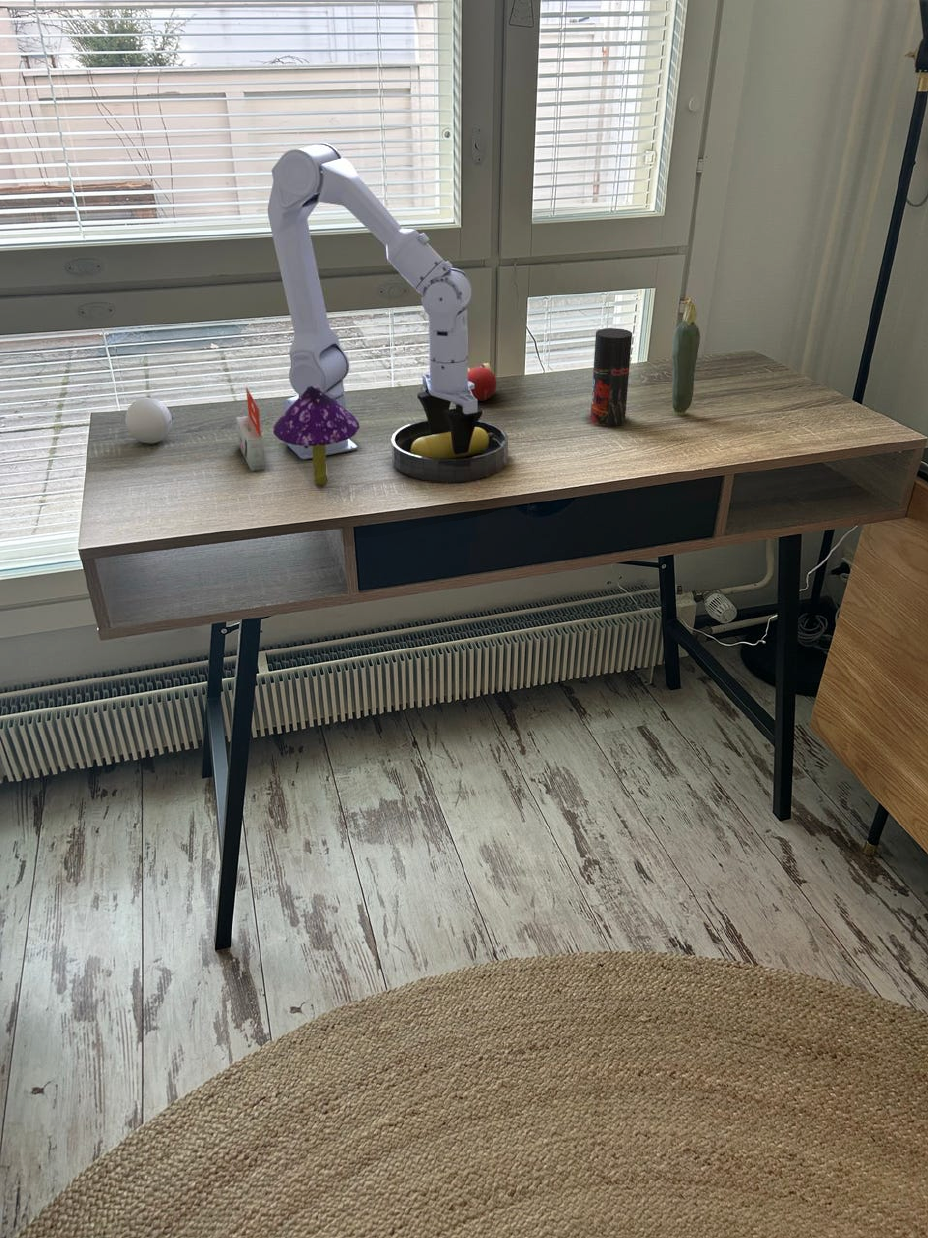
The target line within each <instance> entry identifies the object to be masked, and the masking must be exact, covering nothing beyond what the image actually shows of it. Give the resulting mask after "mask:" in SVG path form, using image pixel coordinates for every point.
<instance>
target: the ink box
mask: <svg viewBox="0 0 928 1238" xmlns="http://www.w3.org/2000/svg"><path fill="white" fill-rule="evenodd" d="M245 390H246V391H245V392H246V400H247V408H248V409H247V411H248V415H245V416H243V415H242V416H236V417H235V420H236V428H237V436H238V444H239V449H240V451H241V453H242V455H243V457H244V459H245V461H246V464H247V466H248V468H249V469H250V472H256V471H262V470H265V469H266V460H265V454H264V453H265V452H264V444H263V437H262V429H261V419H260V417H261V416H260V408H259V406H258V405H257V403H256V401H255V400H254V397H253V396H252V393H251V392H250V390H249V388H248V387H246V388H245Z"/></svg>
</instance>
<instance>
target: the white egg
mask: <svg viewBox="0 0 928 1238" xmlns="http://www.w3.org/2000/svg"><path fill="white" fill-rule="evenodd" d="M124 418H125V420H124V421H125V426H126V429H127V431H128V433H129V434H130V435H131V436H132V438H134V439H136V440H137V441H138V442H140V443H145V444H148V445H149V444H157V443H160V442H161V441H164V440H165V439H166V437H168V436H169V434H170V432H171V430H172V427H173V420H174V419H173V418H174V417H173V416H172V415H171V412H170V409H169V408H168V407H167V406H166V404H164V403H163V402H162V401H160V400H158V399H157V398H151V397H141V398H139V399H136V400H135V401H133V402H132V403H131V404H130V405H129V407H128V408H127V410H126V413H125V415H124Z"/></svg>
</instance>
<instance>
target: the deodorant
mask: <svg viewBox="0 0 928 1238" xmlns="http://www.w3.org/2000/svg"><path fill="white" fill-rule="evenodd" d="M632 342H633V332H632V331H630V330H628V329H624V328H618V327H617V328H616V327H608V328H607V327H606V328H601V329H598V330H596V332H595V340H594V356H593V371H592V385H591V401H590V414H589V415H590V417H589V420H590V423H592V424H593V425H596V426H600V427H609V428H610V427H611V428H613V427H619V426H622V425H624V424H625V422H626V412H627V402H628V401H627V400H628V389H629V377H630V365H631V356H632Z"/></svg>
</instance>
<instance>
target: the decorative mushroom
mask: <svg viewBox="0 0 928 1238" xmlns="http://www.w3.org/2000/svg"><path fill="white" fill-rule="evenodd" d="M360 428H361V426H360V422H359V421H358V420H357V418H356V417H355V415H354V414H352V413H351V412H349V411H348V410H347V409H344V408H343V407H342V406H341V405H340V404H339V403H338V402H337V401H336V400H334V399H333V398H331V397H329V396H328V395H326V394H325V393H324V392H323V391H322V390H321V389H319V388H318V387H316V386H310V387H309V388H307V390H306V391H305V392H304V393H303V394H302V395H301V396H300V397H299V398H298V399H297V400H296V401H295V402H294V403H293V404H292V405H291V406H290V407H289V408H288V410H287V411H286V412H285V413H283V414H282V415H281V417H280V418H279V419H277V421H276V422H275V424H274V426H273V428H272V433H273V435H274V436H275V437H276V438H277V439H278V440H280V441H282V442H284V443H286V444H287V443H289V444H294V445H302V446H313V458H312V465H313V479H314V482H315V484H316V485H318V486H324V485H326V484H327V483H328V481H329V478H328V472H327V455H326V451H325V450H326V445H328V444H334V443H338V442H341V441H344V440H347V439H349V440H350V439H351V438H352V437H354V436H355V435H356V433H358V431H359V430H360Z"/></svg>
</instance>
